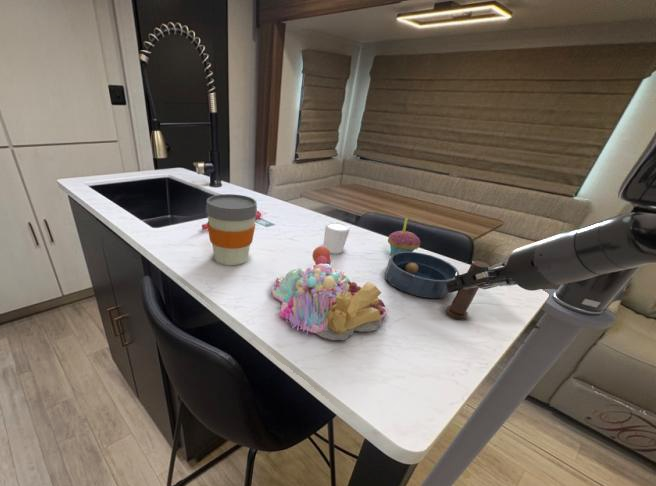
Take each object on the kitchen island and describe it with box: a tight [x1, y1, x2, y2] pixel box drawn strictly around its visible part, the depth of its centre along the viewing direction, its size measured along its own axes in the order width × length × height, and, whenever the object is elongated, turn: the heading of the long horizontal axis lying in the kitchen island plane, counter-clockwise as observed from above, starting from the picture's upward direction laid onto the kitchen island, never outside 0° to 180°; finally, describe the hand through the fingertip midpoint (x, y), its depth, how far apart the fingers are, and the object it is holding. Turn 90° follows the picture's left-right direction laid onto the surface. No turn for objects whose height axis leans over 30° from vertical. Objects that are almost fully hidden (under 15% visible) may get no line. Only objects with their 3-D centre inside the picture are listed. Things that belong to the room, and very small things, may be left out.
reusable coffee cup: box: [205, 193, 258, 266], centre depth 78 cm, size 13×13×15 cm
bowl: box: [384, 251, 460, 299], centre depth 75 cm, size 15×15×5 cm
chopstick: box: [201, 210, 262, 231], centre depth 103 cm, size 24×2×5 cm
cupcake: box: [387, 215, 421, 256], centre depth 86 cm, size 9×8×12 cm
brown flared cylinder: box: [444, 260, 491, 321], centre depth 62 cm, size 4×4×12 cm
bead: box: [405, 263, 418, 274], centre depth 78 cm, size 3×3×3 cm
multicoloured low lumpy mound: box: [271, 245, 388, 341], centre depth 64 cm, size 25×24×9 cm
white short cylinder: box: [323, 222, 350, 254], centre depth 89 cm, size 7×7×7 cm
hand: (465, 286), depth 63 cm, fingers open, 8 cm apart
